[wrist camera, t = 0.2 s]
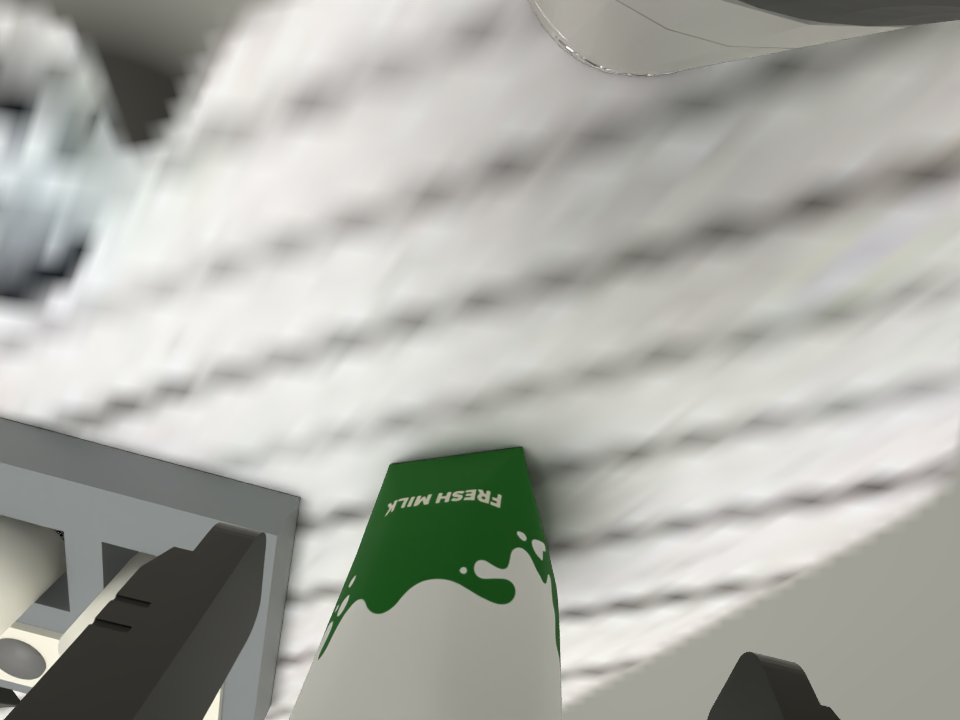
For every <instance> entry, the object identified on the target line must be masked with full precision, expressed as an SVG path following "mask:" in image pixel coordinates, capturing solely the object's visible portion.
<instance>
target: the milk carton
mask: <svg viewBox="0 0 960 720" xmlns="http://www.w3.org/2000/svg"><path fill="white" fill-rule="evenodd" d="M289 720H562V699H561V665H560V631H559V610H558V597H557V589H556V583H555V579H554V574H553V570H552V565H551V561H550V557H549V552H548V548H547V544H546V540H545V536H544V532H543V528H542V524H541V520H540V516H539V512H538V508H537V504H536V500H535V496H534V492H533V489H532V485H531V481H530V477H529V473H528V469H527V465H526V461H525V456H524V452H523V448H522V447H518V448H510V449H503V450H496V451H488V452H481V453H473V454H466V455H459V456H451V457H444V458H436V459H429V460H422V461H414V462H407V463H400V464H392V465H389V468H388V471H387V474H386V476H385V479H384V482H383V484H382V487H381V490H380V492H379V495H378V498H377V500H376V503H375V506H374V508H373V511H372V514H371V516H370V519H369V522H368V524H367V527H366V530H365V533H364V535H363V538H362V541H361V544H360V546H359V549H358V552H357V555H356V557H355V560H354V562H353V564H352V567H351V569H350V572H349V574H348V577H347V579H346V582H345V584H344V586H343V589H342V591H341V594H340V596H339V599H338V601H337V604H336V606H335V609H334V611H333V613H332V616H331V618H330V621H329V623H328V626H327V628H326V631H325V633H324V635H323V638H322V640H321V643H320V645H319V648H318V650H317V653H316V655H315V657H314V660H313V662H312V665H311V667H310V670H309V672H308V675H307V677H306V679H305V682H304V684H303V687H302V689H301V692H300V694H299V697H298V699H297V701H296V704H295V706H294V709H293V711H292V714H291V716H290V718H289Z"/></svg>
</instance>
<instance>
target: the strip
mask: <svg viewBox="0 0 960 720" xmlns="http://www.w3.org/2000/svg"><path fill="white" fill-rule="evenodd" d="M62 636H63V634H62V633H58V632H54V631H50V630H46V629H43V628H39V627H35V626H31V625H27V624H23V623H20V622H16V621H15V622H14V623H13V624H12V625H11V626H10V627H9V628H8V629H7V630H6V631H5V632H4V633H3V634H2V635H1V636H0V679H2V680H6V681H10V682H13V683H17V684H21V685H25V686H29V687H34V685H35V684H36V683H37V682H38V681H39V680H40V679H41V678H42V676H43V675H44V674H45V673H46V672H47V671H48V670H49V669H50V668H51V666H52V665H53V664H54V663H55V662H56V661H57V660H58V659H59V657H60V656H59V652H58V644H59V640H60V638H61V637H62ZM223 688H224V683H223V685H222V686H221V688H220V690H219V692H218V693H217V695H216V697H215V699H214V701H213V702H212V704H211V706H210V708H209V710H208V711H207V713H206V715H205V717H204V718H203V720H221V711H222V700H223Z"/></svg>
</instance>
